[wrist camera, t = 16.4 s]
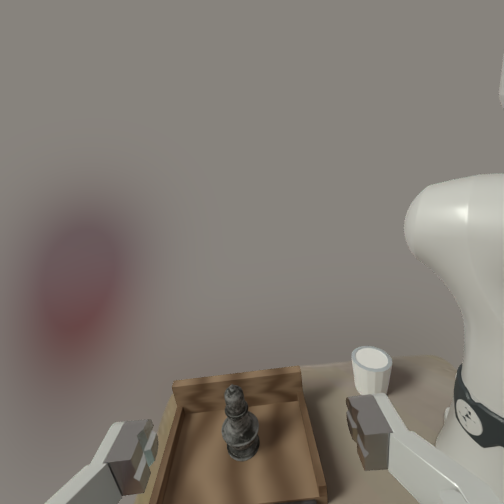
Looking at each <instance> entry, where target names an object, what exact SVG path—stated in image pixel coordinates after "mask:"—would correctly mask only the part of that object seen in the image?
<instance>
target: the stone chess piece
mask: <svg viewBox="0 0 504 504" xmlns="http://www.w3.org/2000/svg"><path fill="white" fill-rule="evenodd" d="M224 398H225V403H226V406H225V414H226V416H227V418H226V419H225V421H224V423H223V425H222V437H223V439H224V441H225V442H226V443H227V450H228V454H229V455H230V457H231V458H233V459H234V460H236V461H247V460H249V459H251V458H252V457H253V456H254V455H255V454H256V453H257V451H258V449H259V445H260V440H259V436H258V434H257V433H258V430H259V423H258V419H257V417H256V416H255V415H254V414H253V413H251V412H250V411H248V403H247V402H246V401H245V399H244V394H243V390H242V388H241V387H239V386H237V385H233V384H231V385H230V386H229V387H228V388H227V389H226V391H225V393H224Z"/></svg>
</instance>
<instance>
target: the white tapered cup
mask: <svg viewBox="0 0 504 504" xmlns="http://www.w3.org/2000/svg"><path fill="white" fill-rule="evenodd" d="M352 364H353V372H354V379H355V386H356V389H357V391H358V392H359V393H360V394H361V395H368V394H378V393H385V394H387V391H388V386H389V380H390V374H391V368H392V359H391V357H390V356H389V355H388V353H386V352H385V351H383V350H382V349H379V348H376V347H372V346H361V347H358V348H356V349H355V350H354V351H353V352H352Z"/></svg>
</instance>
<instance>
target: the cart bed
mask: <svg viewBox="0 0 504 504" xmlns="http://www.w3.org/2000/svg"><path fill="white" fill-rule="evenodd" d="M231 384H233V385H237V386H239V387H241V388H242V390H243V394H244V399H245V401H246V402H247V403H248V411H250V412H251V413H253V414H254V415H255V416H256V417H257V419H258V423H259V430H258V433H257V434H258V436H259V440H260V445H259V449H258V451H257V453H256V454H255V455H254V456H253V457H252V458H251V459H249V460H247V461H236V460H234V459H233V458H231V457H230V455H229V454H228V450H227V443H226V442H225V441H224V439H223V437H222V425H223V423H224V421H225V419H226V418H227V416H226V414H225V406H226V403H225V398H224V393H225V391H226V389H227V388H228V387H229V386H230V385H231ZM172 390H173V393H174V397H175V400H176V404H177V410H176V413H175V416H174V420H173V423H172V427H171V430H170V434H169V437H168V440H167V444H166V447H165V451H164V454H163V457H162V461H161V464H160V468H159V471H158V474H157V478H156V481H155V485H154V488H153V491H152V495H151V498H150V502H149V504H328V501H327V486H326V482H325V478H324V474H323V470H322V466H321V462H320V458H319V454H318V450H317V446H316V442H315V438H314V434H313V430H312V426H311V422H310V418H309V415H308V411H307V407H306V403H305V399H304V395H303V389H302V378H301V370H300V366H292V367H284V368H276V369H268V370H259V371H251V372H243V373H235V374H226V375H218V376H209V377H201V378H193V379H185V380H176V381H174V383H173V385H172Z"/></svg>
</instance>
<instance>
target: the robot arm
mask: <svg viewBox="0 0 504 504" xmlns="http://www.w3.org/2000/svg"><path fill="white" fill-rule="evenodd" d="M499 99H500V103H501V106H502V107H503V109H504V55H503V64H502V71H501V80H500V88H499ZM404 235H405V239H406V243H407V245H408V247H409V249H410V251H411V252H412V254H413V255H414V256H415V257H416V258H417V259H418V260H419V261H420V262H422V263H423V264H424V265H426V266H427V267H428V268H430V269H431V270H432V271H433V272H434V273H435V274H436V275H437V276H438V277H439V278H440V279H441V280H442V281H443V282H444V283H445V285H446V286H447V288H448V289H449V290H450V292H451V293H452V295H453V296H454V298H455V300H456V302H457V304H458V305H459V308H460V311H461V313H462V317H463V321H464V355H463V363H462V364H461V365H460V366H459V368H458V370H457V374H456V377H455V378H456V380H455V386H454V396H453V399H452V402H451V405H450V407H447V408H446V410H445V413H444V423H445V424H444V426H443V428H442V430H441V431H440V433H439V435H438V437H437V440H436V447H435V446H433V445H432V444H430V443H429V442H428V441H426V440H425V439H423V438H422V437H420V436H419V435H418V434H416V433H415V432H413V431H408V429H407V427H406V426H405V424H404V423H403V421H402V419H401V418H400V416H399V414H398V413H397V411H396V409H395V408H394V406H393V405H392V403H391V401H390V400H389V398H388V396H387V395H386V394H385V393H378V394H368V395H360V396H352V397H347V398H346V405H347V407H348V411H347V422H348V427H349V430H350V434H351V436H352V439H353V440H354V441H355V442H356V443H357V452H358V455H359V457H360V460H361V463H362V465H363V468H364V470H365V471H370V470H385V469H388V471H389V472H390V473H391V474H392V475H393V476H394V477H395V478H396V479H397V480H398V481H399V482H400V483H401V484H402V485H403V486H404V487H405V488H406V489H407V490H408V491H409V492H410V493H411V495H412V496H413V497H414V498H415V499H416V500H417V501H418V502H419V503H420V504H504V173H498V174H481V175H474V176H469V177H464V178H459V179H454V180H450V181H445V182H441V183H437V184H432V185H429V186H427V187H426V188H425V189H424V190H423V191H422V192H421V193H420V194H418V196H417V197H416V198H415V199H414V200H413V202H412V203H411V205H410V207H409V209H408V211H407V213H406V217H405V222H404ZM153 426H154V425H153V422H152V420H149V419H148V420H137V421H125V422H115V423H114V424H113V425H112V426H111V427H110V429H109V431H108V432H107V434H106V436H105V438H104V440H103V441H102V443H101V445H100V447H99V449H98V451H97V453H96V454H95V456H94V458H93V460H92V462H91V464H90V465H86V466H85V467H84V468H83V469H82V470H81V471H79V472H78V473H77V474H76V475H75V476H74V477H73V478H72V479H71V480H70V481H69V482H67V483H66V484H65V485H64V486H63V487H62V488H61V489H60V490H59V491H58V492H57V493H55V494H54V495H53V496H52V497H51V498H50V499H49V500H48V501H47V502H46V503H45V504H118V503H119V501H120V500H121V499H122V496H126V495H133V494H141V493H144V492H145V489H146V486H147V483H148V480H149V477H150V474H151V472H150V469H149V466H150V465H151V464H152V463H153V462H154V461H155V458H156V455H157V451H158V436H157V433H156V432H154V431H153V430H152V428H153Z"/></svg>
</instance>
